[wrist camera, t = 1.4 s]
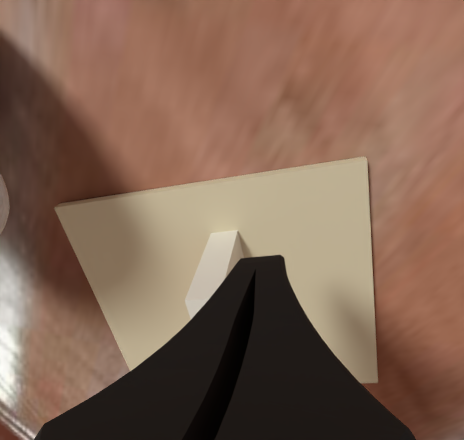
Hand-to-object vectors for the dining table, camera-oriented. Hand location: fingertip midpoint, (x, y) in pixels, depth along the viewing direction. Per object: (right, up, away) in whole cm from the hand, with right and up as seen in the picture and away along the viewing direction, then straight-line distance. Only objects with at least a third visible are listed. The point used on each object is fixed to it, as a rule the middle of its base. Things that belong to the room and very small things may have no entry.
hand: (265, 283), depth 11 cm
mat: (-1, -3, +12) cm, 13 cm away
